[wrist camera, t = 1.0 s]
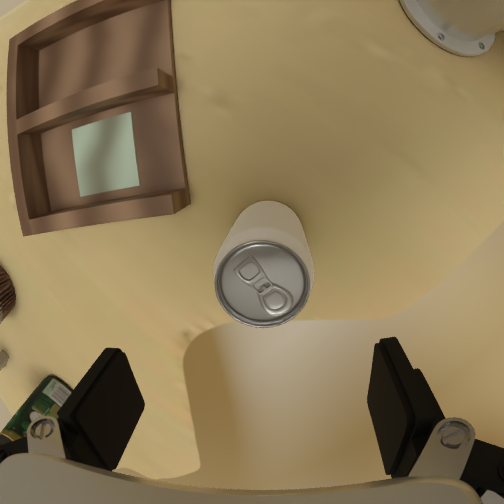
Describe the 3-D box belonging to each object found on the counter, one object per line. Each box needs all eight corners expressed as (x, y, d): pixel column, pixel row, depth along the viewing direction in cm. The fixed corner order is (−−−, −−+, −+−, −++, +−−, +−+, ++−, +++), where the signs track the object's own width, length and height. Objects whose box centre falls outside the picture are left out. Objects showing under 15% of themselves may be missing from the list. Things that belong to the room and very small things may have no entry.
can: (264, 278, 31) (255, 350, 20) (219, 229, 30) (185, 278, 19) (316, 238, 29) (339, 293, 18) (272, 185, 28) (269, 209, 17)
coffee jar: (70, 419, 43) (23, 492, 25) (37, 389, 41) (-17, 457, 24) (89, 401, 40) (35, 487, 23) (51, 367, 39) (-13, 445, 21)
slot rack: (170, -9, 22) (153, -30, 18) (190, 203, 29) (174, 214, 25) (35, 46, 24) (9, 39, 20) (50, 224, 31) (23, 236, 27)
